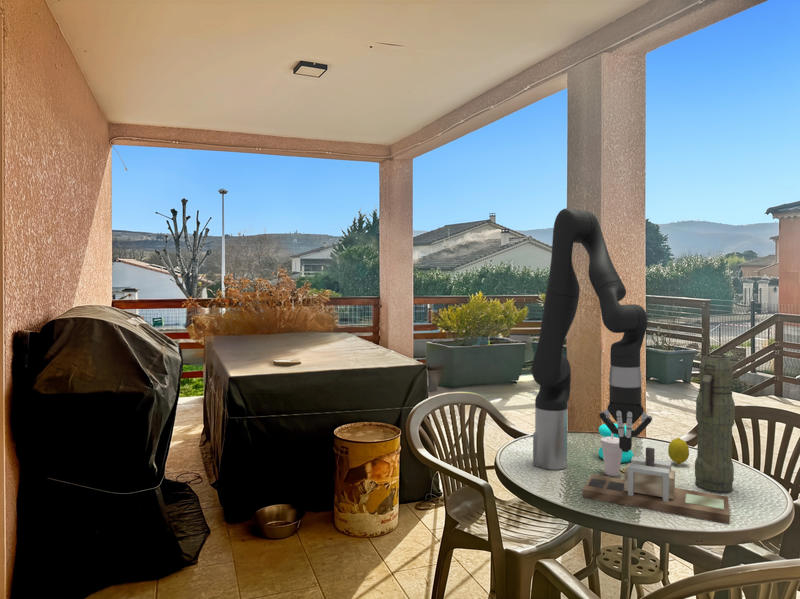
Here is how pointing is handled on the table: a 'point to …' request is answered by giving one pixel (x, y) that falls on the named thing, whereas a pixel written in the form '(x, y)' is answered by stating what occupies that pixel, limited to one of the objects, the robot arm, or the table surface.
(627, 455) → the donuts
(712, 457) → the green stone statue
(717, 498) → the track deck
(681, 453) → the lemon
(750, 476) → the table surface
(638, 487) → the block
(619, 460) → the smoothie
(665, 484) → the tunnel
